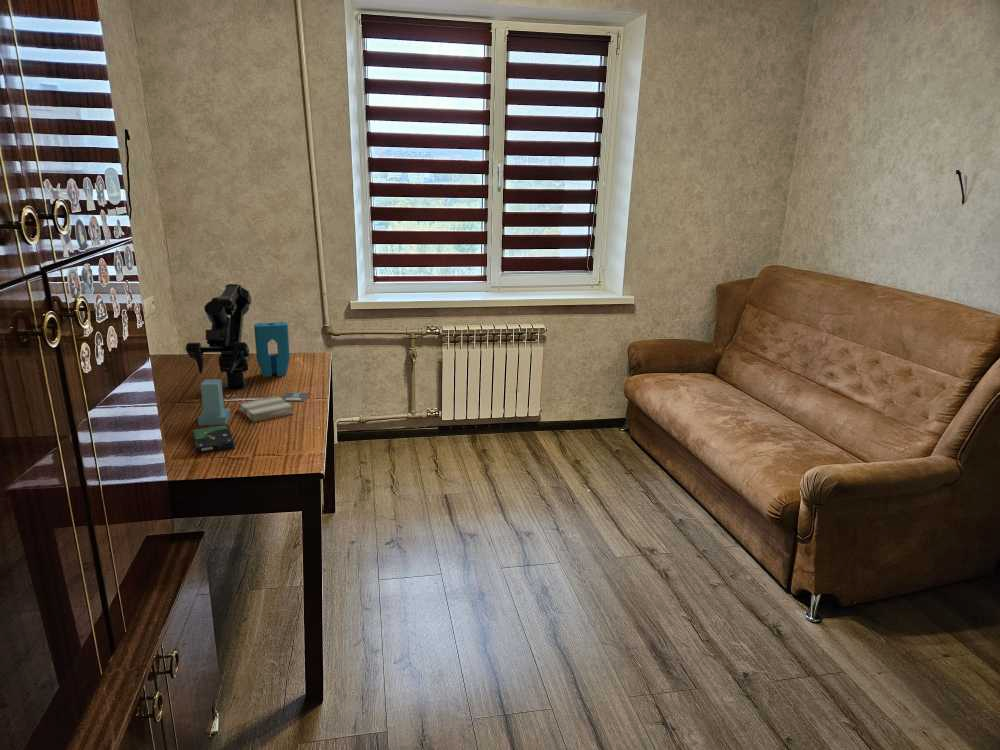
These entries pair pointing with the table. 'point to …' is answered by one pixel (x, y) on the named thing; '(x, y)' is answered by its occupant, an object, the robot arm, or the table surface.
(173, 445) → the table surface
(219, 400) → the teal block
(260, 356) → the block
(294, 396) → the slate card
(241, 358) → the robot arm
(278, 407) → the cream base block
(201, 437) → the disk drive
